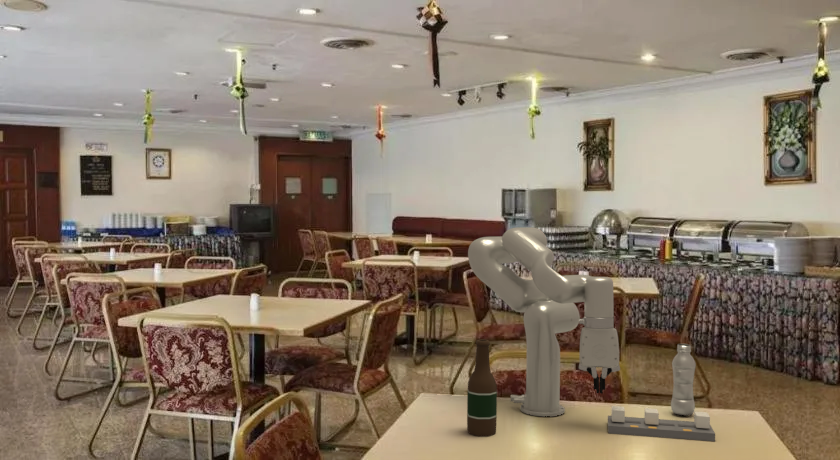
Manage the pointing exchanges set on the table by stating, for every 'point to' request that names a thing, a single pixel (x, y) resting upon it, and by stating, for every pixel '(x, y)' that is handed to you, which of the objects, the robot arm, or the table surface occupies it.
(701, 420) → the slider
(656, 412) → the slider
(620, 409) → the slider
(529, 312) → the robot arm
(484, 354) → the beer bottle
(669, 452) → the table surface
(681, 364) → the plastic bottle
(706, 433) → the switch deck
